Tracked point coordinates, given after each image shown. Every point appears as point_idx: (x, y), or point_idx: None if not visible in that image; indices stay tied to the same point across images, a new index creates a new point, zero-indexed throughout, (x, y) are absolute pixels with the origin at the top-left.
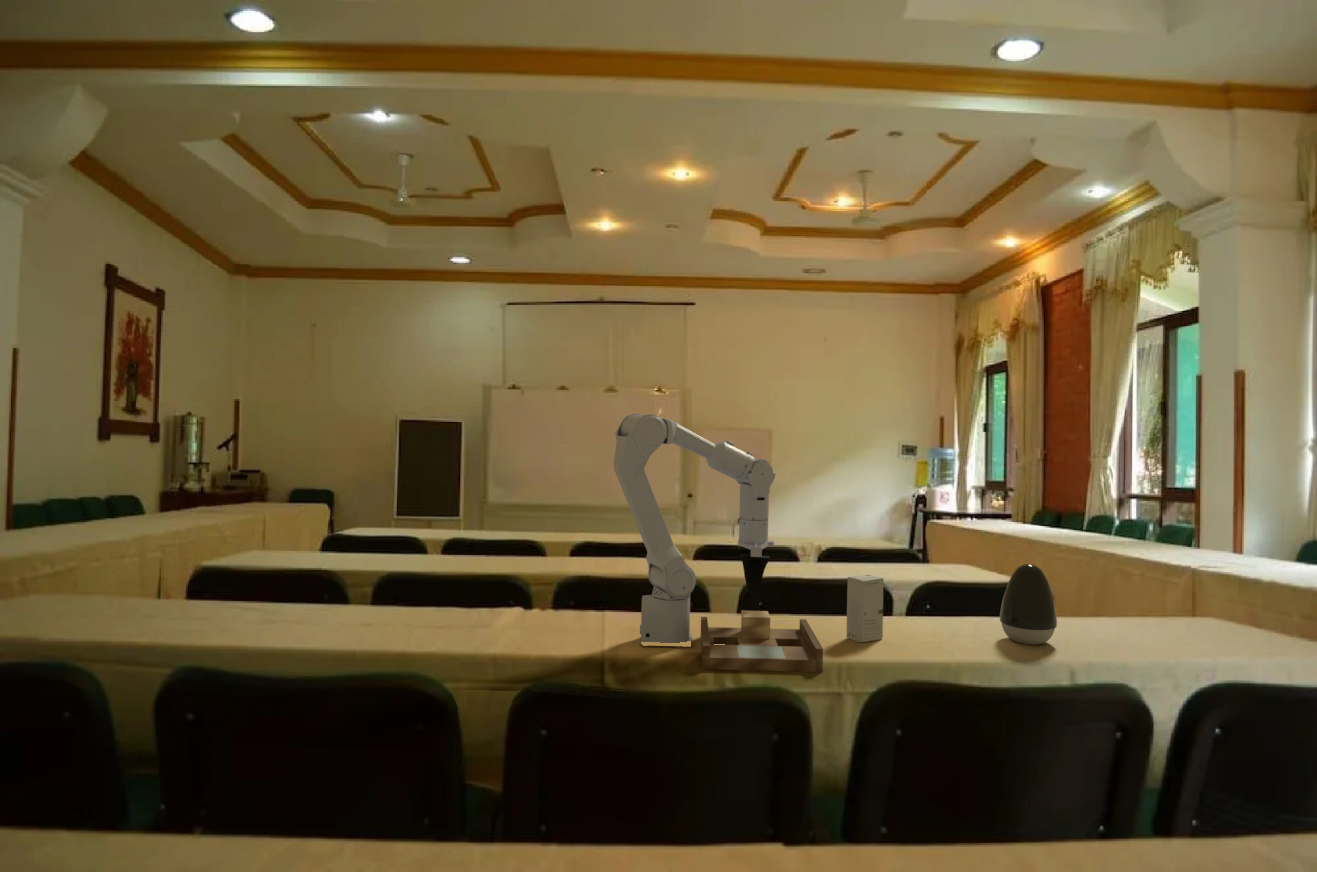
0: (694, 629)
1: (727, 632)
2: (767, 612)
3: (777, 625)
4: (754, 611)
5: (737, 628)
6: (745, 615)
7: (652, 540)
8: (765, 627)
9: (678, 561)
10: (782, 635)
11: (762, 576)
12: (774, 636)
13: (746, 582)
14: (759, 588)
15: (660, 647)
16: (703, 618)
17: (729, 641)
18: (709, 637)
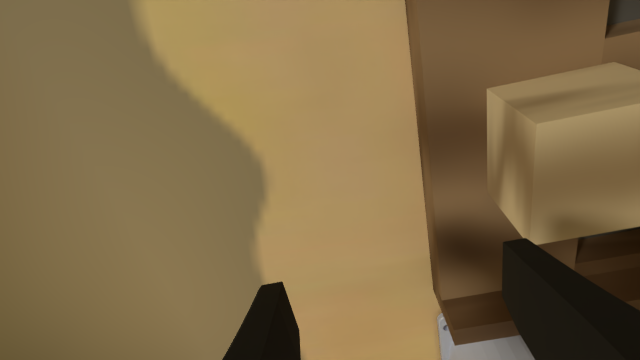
0: (344, 317)
1: (511, 233)
2: (571, 121)
3: (166, 62)
4: (546, 188)
5: (444, 210)
6: (634, 216)
7: None
8: None
9: None
10: (549, 6)
11: (630, 305)
12: (568, 45)
13: (298, 337)
14: (541, 249)
15: None
16: (481, 335)
17: None
18: (580, 272)
